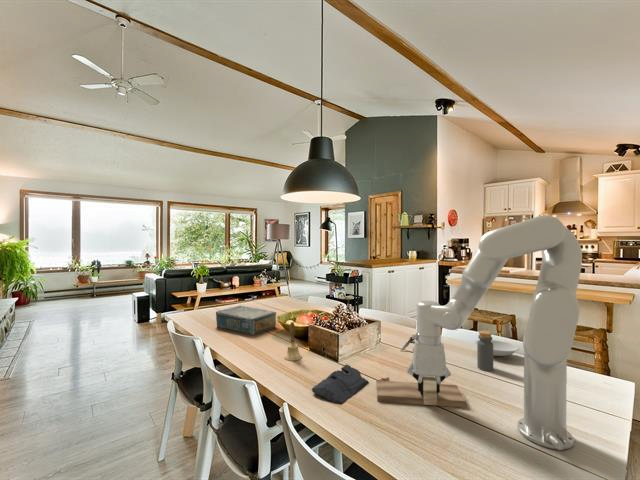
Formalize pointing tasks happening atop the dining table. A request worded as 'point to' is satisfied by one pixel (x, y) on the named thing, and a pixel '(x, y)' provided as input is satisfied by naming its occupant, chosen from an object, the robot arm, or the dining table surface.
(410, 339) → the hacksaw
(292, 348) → the hand bell
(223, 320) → the metal box
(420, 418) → the dining table surface
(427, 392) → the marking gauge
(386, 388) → the walnut board
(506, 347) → the dish
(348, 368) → the dark slate chunk
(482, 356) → the bottle
